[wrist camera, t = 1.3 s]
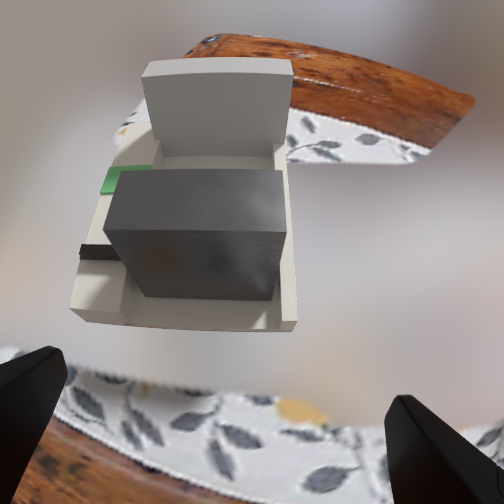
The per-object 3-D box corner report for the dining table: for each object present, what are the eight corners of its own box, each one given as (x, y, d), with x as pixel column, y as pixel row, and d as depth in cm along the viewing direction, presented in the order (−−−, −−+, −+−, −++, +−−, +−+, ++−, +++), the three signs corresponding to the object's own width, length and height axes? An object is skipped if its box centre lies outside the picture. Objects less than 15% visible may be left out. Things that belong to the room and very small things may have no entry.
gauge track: (291, 331, 22) (325, 266, 14) (86, 321, 22) (13, 258, 13) (279, 143, 32) (290, 59, 23) (135, 145, 32) (114, 66, 23)
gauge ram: (271, 300, 22) (286, 231, 15) (91, 293, 22) (34, 230, 14) (270, 251, 24) (282, 170, 17) (101, 247, 24) (57, 175, 16)
